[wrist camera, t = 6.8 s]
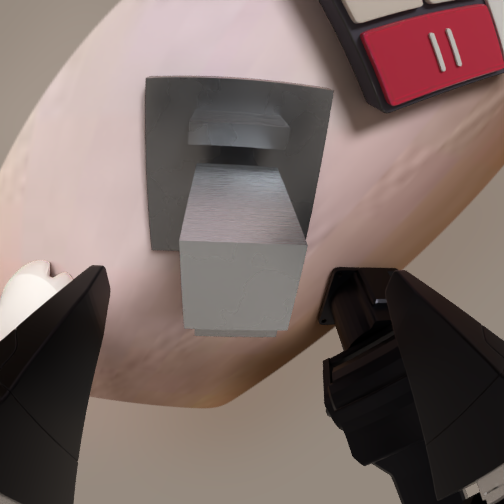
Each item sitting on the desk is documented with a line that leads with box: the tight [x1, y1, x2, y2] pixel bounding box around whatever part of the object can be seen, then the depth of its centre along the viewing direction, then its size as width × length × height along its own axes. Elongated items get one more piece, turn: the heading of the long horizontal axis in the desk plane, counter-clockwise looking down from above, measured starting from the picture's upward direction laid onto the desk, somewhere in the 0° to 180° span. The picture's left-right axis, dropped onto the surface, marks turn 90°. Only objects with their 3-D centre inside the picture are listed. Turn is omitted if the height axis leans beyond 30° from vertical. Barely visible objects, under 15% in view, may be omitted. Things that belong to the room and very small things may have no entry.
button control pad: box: [319, 0, 504, 113], centre depth 13 cm, size 11×4×15 cm
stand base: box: [145, 76, 334, 251], centre depth 19 cm, size 12×11×5 cm
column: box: [179, 163, 308, 337], centre depth 14 cm, size 4×4×7 cm
